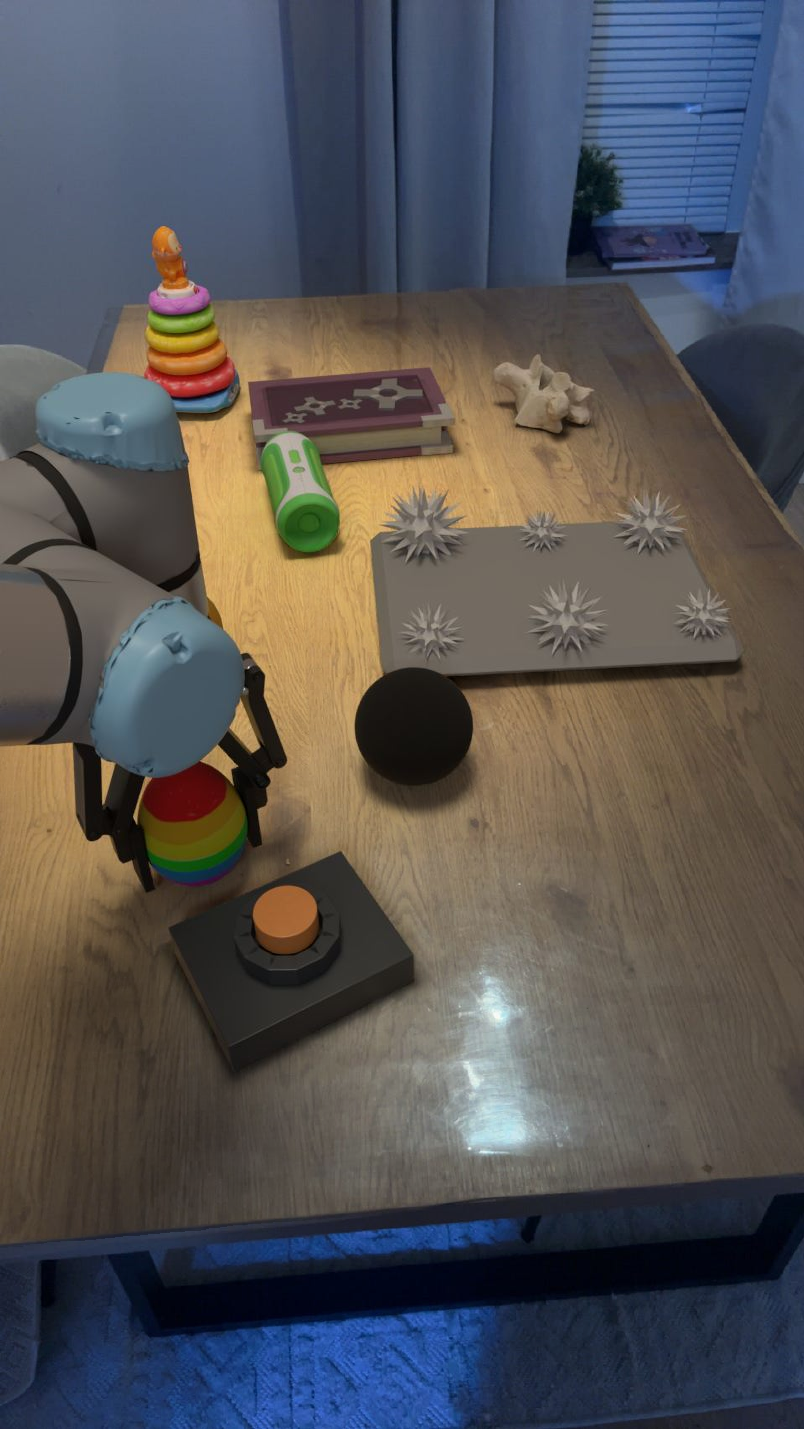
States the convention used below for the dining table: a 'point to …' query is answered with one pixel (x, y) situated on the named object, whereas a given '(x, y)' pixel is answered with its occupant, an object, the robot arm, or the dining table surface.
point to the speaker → (299, 492)
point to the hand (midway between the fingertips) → (199, 856)
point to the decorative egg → (192, 825)
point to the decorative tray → (543, 594)
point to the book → (355, 414)
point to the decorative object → (543, 395)
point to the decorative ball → (413, 726)
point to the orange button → (286, 920)
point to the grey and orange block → (291, 963)
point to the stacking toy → (186, 337)
